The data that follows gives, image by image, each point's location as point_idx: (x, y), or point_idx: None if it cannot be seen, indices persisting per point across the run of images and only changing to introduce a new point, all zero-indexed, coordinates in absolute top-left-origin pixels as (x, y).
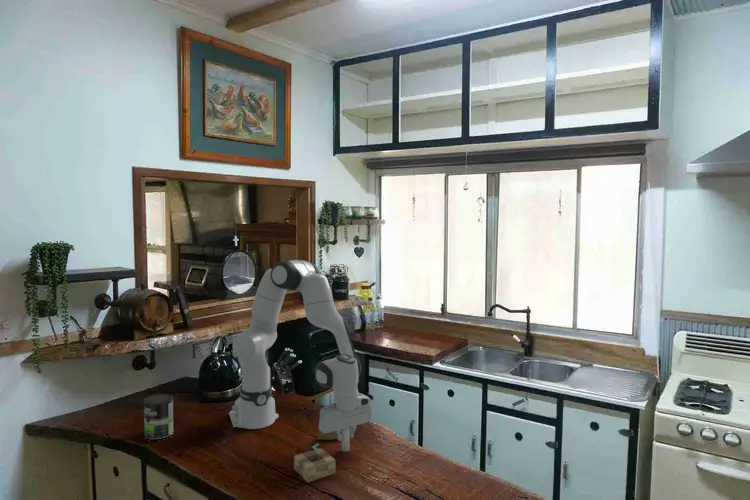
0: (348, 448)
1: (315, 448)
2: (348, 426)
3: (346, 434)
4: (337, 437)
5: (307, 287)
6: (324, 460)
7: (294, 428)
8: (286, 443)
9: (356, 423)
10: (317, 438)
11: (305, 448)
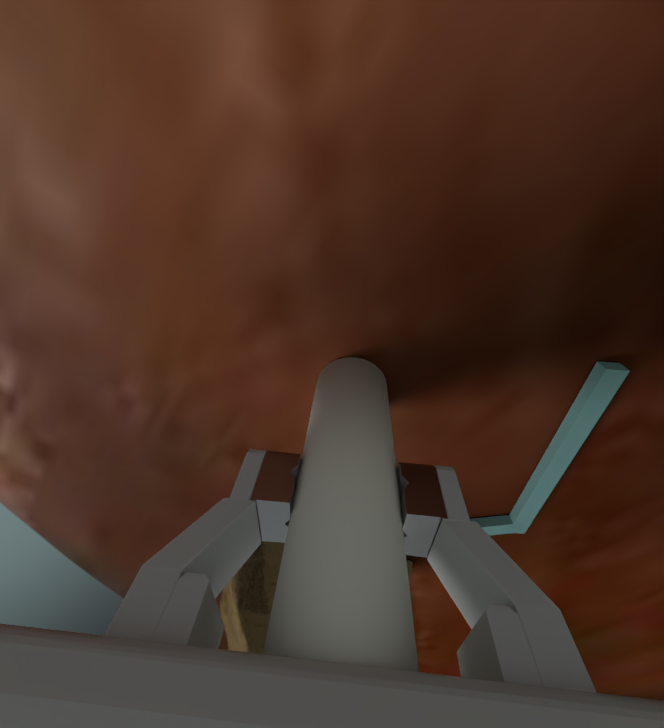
0: (342, 372)
1: (531, 508)
2: (334, 701)
3: (370, 515)
4: None
5: None
6: None
7: (421, 647)
8: (572, 604)
9: (72, 704)
10: (410, 567)
11: (553, 536)
